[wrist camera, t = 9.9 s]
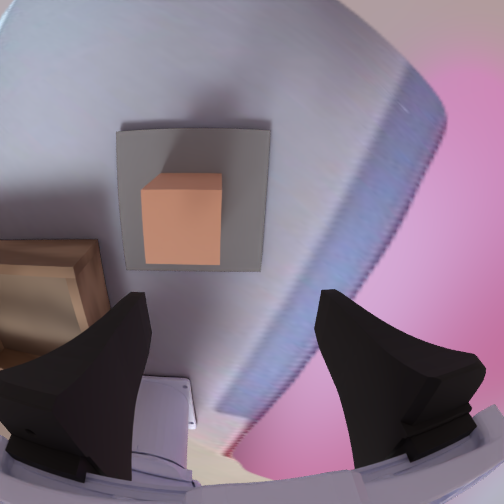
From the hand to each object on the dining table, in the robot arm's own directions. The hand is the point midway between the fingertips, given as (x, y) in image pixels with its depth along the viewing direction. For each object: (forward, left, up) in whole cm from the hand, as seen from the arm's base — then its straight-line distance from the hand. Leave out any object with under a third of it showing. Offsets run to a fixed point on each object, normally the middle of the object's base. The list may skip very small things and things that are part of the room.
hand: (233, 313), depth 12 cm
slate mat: (+2, +2, -10) cm, 10 cm away
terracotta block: (+2, +2, -9) cm, 10 cm away
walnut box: (-7, +17, -10) cm, 21 cm away
